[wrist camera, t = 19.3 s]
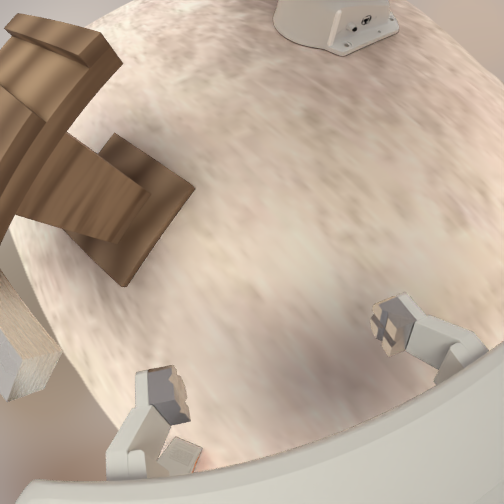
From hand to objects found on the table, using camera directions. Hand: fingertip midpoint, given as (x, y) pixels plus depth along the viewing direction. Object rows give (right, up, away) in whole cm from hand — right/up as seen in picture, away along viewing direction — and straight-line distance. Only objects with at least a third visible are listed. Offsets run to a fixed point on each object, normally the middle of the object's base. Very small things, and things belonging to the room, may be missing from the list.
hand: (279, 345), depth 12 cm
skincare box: (-11, -25, +25) cm, 37 cm away
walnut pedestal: (-20, +10, +30) cm, 37 cm away
